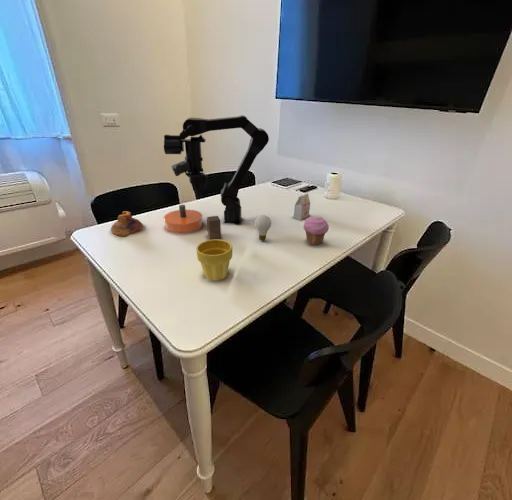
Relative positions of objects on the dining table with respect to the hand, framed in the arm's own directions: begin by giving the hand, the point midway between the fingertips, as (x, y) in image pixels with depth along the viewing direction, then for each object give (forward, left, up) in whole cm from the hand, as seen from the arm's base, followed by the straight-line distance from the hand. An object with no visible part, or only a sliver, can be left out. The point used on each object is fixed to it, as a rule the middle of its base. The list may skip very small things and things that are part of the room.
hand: (196, 194), depth 121 cm
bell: (+24, +14, -12) cm, 30 cm away
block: (-11, +13, -12) cm, 21 cm away
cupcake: (-48, +8, -12) cm, 50 cm away
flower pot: (-19, +37, -12) cm, 43 cm away
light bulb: (-29, +11, -12) cm, 33 cm away
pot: (+4, +6, -12) cm, 14 cm away
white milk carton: (-42, -16, -12) cm, 47 cm away
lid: (+4, +6, -8) cm, 11 cm away
